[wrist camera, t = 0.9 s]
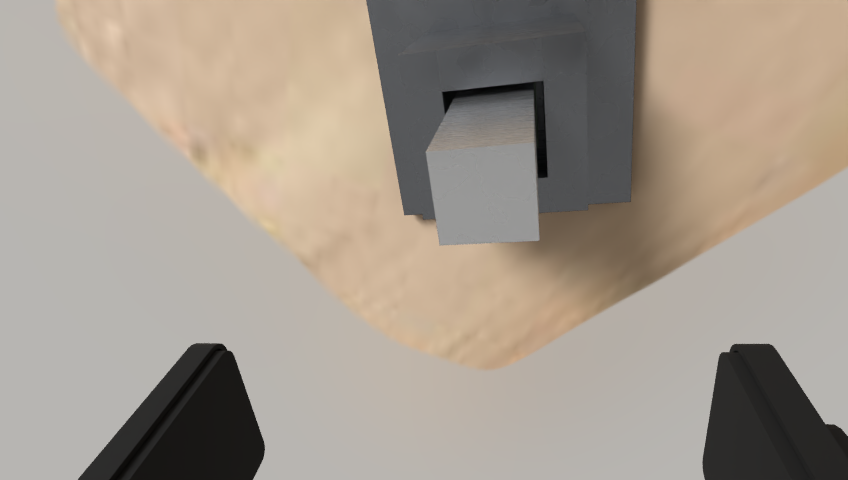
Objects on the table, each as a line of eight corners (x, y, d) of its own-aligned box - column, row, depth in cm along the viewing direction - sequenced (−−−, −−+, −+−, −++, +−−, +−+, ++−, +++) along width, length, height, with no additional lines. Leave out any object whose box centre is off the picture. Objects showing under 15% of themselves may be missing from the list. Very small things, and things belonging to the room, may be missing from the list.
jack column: (534, 61, 33) (536, 139, 19) (538, 127, 35) (542, 242, 21) (467, 69, 34) (422, 149, 20) (474, 133, 36) (437, 247, 22)
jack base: (633, -64, 31) (673, -70, 22) (627, 193, 38) (655, 264, 29) (369, -21, 35) (314, -12, 26) (408, 207, 42) (375, 274, 33)
